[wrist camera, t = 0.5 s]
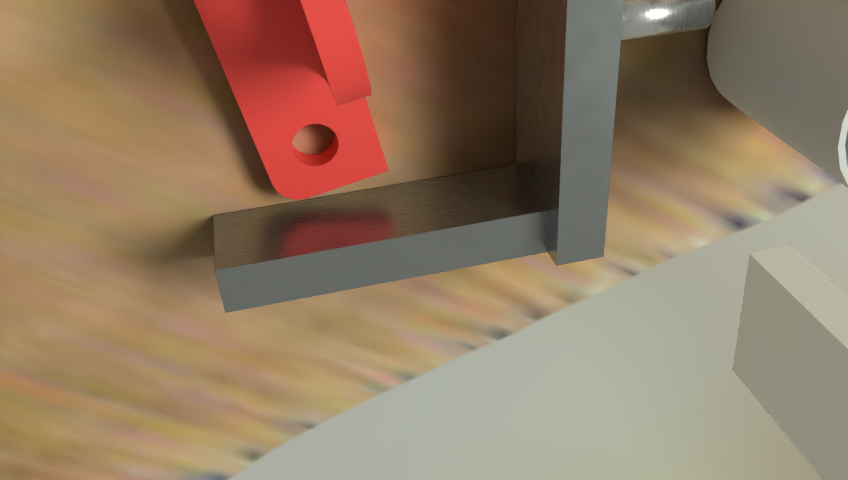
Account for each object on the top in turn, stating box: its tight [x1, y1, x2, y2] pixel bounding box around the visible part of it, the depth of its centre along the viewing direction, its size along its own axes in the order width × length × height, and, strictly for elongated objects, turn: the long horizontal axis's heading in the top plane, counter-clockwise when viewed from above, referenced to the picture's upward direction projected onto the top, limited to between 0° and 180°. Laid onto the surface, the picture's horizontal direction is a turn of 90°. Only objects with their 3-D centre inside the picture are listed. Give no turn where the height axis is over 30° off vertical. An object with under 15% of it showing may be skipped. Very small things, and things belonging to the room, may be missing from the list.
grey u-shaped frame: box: [213, 0, 715, 313], centre depth 28 cm, size 20×18×5 cm
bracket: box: [194, 0, 388, 199], centre depth 26 cm, size 12×4×8 cm, turn 14°
